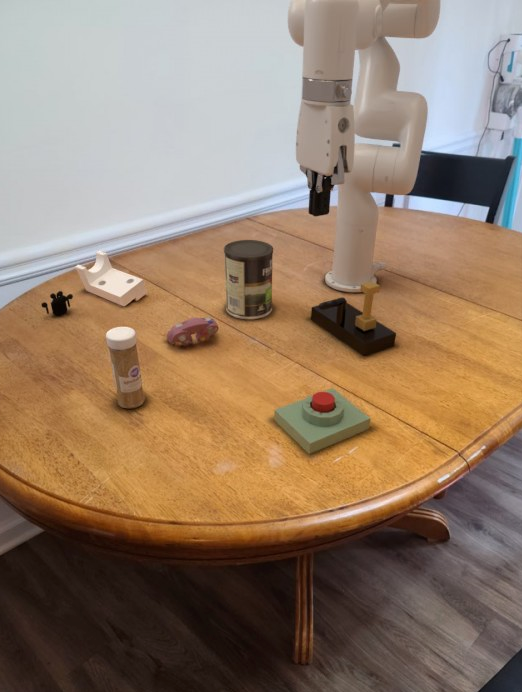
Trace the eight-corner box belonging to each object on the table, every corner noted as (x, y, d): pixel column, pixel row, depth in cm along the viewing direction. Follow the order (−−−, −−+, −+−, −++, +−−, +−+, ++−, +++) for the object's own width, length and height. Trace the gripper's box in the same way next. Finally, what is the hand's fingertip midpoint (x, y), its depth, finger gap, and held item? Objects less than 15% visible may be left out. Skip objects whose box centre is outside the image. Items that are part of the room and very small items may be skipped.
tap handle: (366, 321, 115) (371, 280, 110) (375, 327, 113) (381, 286, 108) (354, 325, 114) (359, 283, 109) (364, 331, 112) (369, 289, 107)
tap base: (339, 311, 126) (343, 274, 121) (394, 346, 114) (400, 307, 109) (291, 325, 120) (293, 287, 115) (344, 363, 108) (348, 323, 103)
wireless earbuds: (73, 307, 124) (69, 286, 121) (79, 311, 122) (75, 290, 120) (43, 317, 120) (38, 295, 117) (49, 321, 118) (44, 299, 115)
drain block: (332, 398, 99) (333, 379, 96) (369, 429, 92) (372, 409, 90) (274, 420, 93) (274, 400, 91) (309, 454, 86) (310, 434, 84)
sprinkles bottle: (135, 412, 94) (124, 341, 86) (112, 405, 95) (99, 335, 87) (150, 397, 97) (141, 328, 89) (127, 391, 98) (116, 323, 91)
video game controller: (171, 355, 111) (174, 335, 106) (164, 337, 113) (166, 316, 107) (218, 345, 115) (223, 324, 109) (210, 327, 117) (214, 306, 111)
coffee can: (276, 301, 129) (277, 241, 121) (266, 322, 121) (267, 259, 112) (233, 296, 130) (231, 237, 122) (220, 316, 122) (217, 254, 114)
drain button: (325, 397, 92) (325, 389, 91) (338, 409, 90) (339, 400, 89) (307, 404, 91) (307, 395, 90) (320, 416, 88) (321, 407, 87)
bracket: (88, 294, 132) (75, 266, 126) (110, 277, 135) (98, 250, 130) (125, 309, 126) (113, 282, 120) (147, 292, 129) (137, 264, 124)
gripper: (378, 97, 82) (364, 223, 92) (317, 84, 92) (311, 199, 102) (337, 100, 78) (327, 230, 89) (278, 86, 88) (276, 205, 99)
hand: (318, 213), depth 96 cm, fingers closed
